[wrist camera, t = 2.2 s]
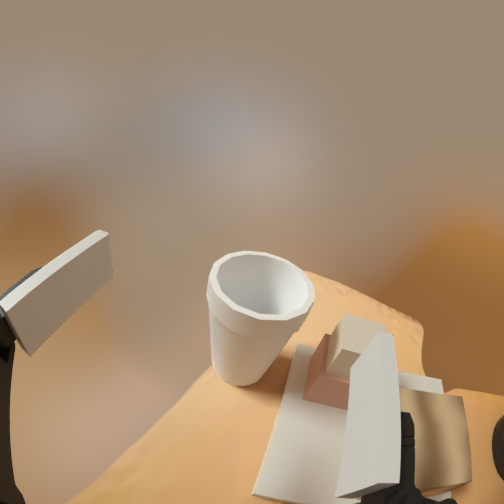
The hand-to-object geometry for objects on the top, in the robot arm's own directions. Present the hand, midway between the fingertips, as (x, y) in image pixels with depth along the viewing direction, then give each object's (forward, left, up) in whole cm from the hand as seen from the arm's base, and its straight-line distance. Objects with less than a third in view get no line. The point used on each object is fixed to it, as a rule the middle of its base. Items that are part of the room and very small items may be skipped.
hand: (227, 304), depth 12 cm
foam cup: (0, -11, -19) cm, 22 cm away
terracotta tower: (-11, -11, -18) cm, 23 cm away
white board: (-18, -6, -19) cm, 27 cm away
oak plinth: (-22, -3, -18) cm, 29 cm away
